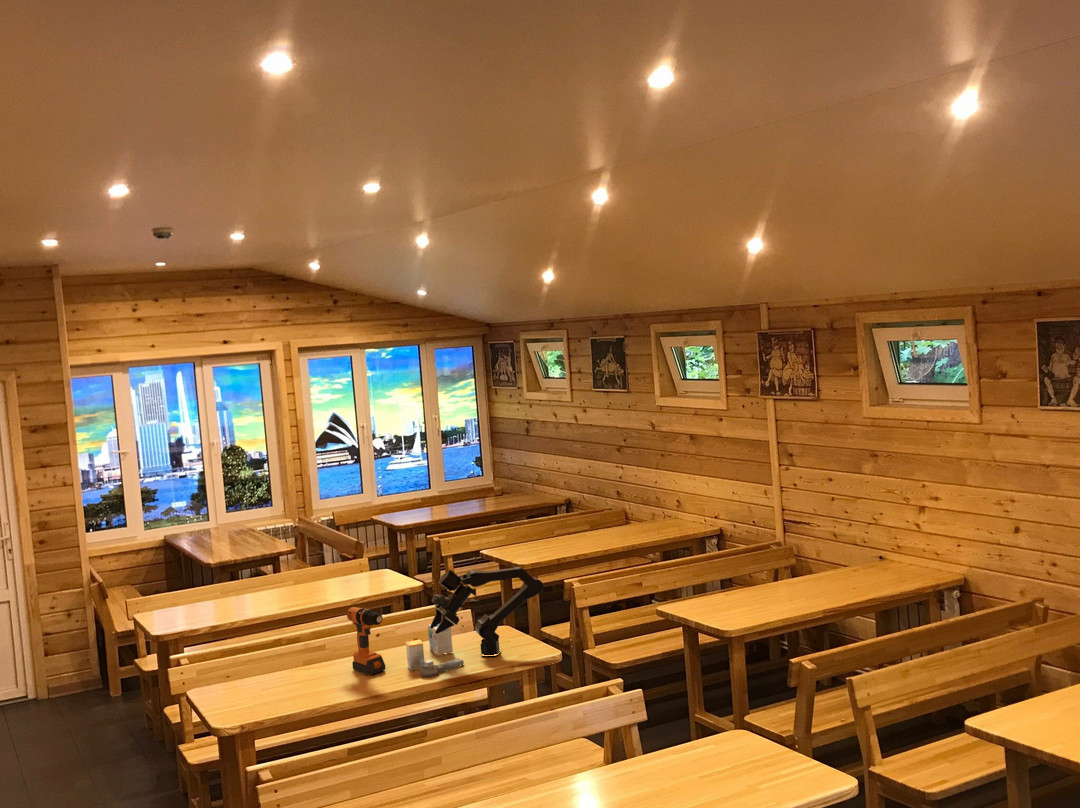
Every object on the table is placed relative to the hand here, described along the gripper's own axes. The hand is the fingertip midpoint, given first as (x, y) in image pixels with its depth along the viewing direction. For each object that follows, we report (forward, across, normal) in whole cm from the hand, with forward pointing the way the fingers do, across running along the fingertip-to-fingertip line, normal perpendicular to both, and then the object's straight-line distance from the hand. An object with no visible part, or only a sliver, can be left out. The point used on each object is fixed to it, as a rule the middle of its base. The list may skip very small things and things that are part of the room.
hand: (433, 630), depth 399 cm
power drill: (+27, -5, -8) cm, 28 cm away
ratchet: (+9, +9, +10) cm, 16 cm away
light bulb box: (+6, -16, +14) cm, 22 cm away
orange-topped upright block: (+15, 0, +4) cm, 16 cm away
